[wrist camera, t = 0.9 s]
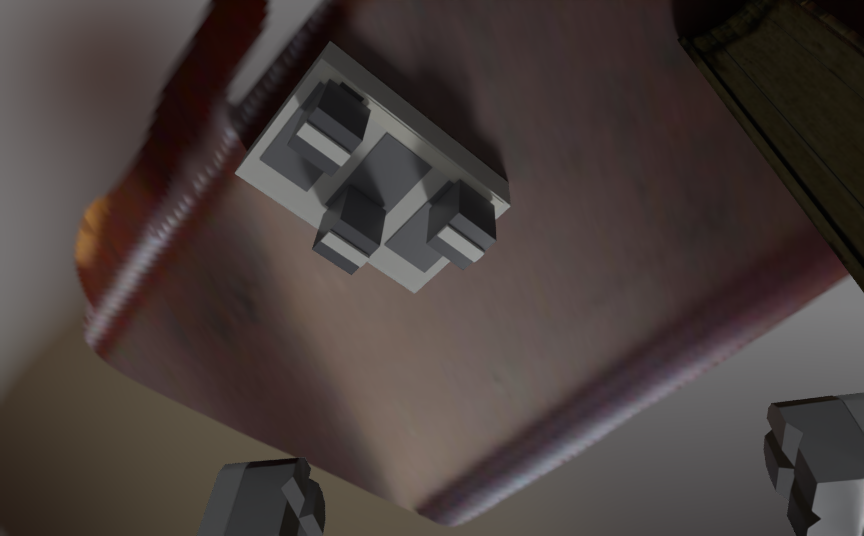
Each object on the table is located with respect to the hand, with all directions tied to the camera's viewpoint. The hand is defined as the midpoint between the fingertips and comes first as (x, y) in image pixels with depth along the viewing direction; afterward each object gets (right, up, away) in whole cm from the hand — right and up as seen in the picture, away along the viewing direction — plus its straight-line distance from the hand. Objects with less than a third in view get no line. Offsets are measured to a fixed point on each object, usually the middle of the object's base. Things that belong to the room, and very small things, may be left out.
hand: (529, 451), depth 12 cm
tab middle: (-7, +7, +32) cm, 34 cm away
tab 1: (-7, +13, +28) cm, 32 cm away
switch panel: (-5, +10, +34) cm, 36 cm away
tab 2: (0, +7, +32) cm, 32 cm away
